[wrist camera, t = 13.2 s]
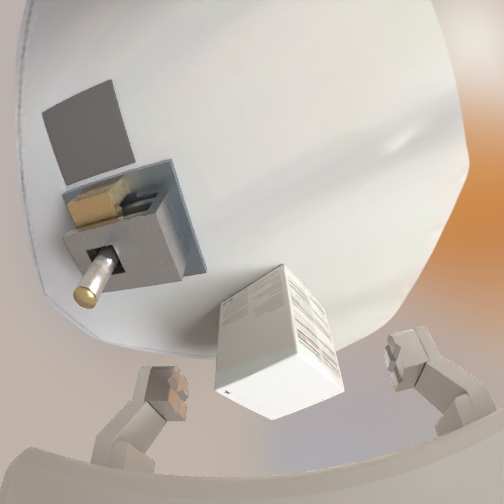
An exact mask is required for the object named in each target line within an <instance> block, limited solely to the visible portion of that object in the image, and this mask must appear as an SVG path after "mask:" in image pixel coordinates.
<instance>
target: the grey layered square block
mask: <svg viewBox="0 0 504 504" xmlns="http://www.w3.org/2000/svg"><path fill="white" fill-rule="evenodd" d="M63 196H64V199H65V201H66V204H67V207H68V209H69V212H70V214H71V216H72V218H73V221H74V223H75V225H76V227H77V229H74V230H71V231H67V233H66V234H65V235H64V236H63V239H64V241H65V243H66V245H67V247H68V249H69V251H70V253H71V255H72V257H73V259H74V261H75V262H76V264H77V266H78V268H79V270H80V272H81V273H82V275H83V276H84V275H85V273H86V271H87V270H88V268H89V267H90V265H91V263H92V262H93V260H94V259H95V257H96V256H97V254H98V253H99V251H100V250H101V248H102V247H103V246H108V245H113V247H114V249H115V251H116V253H117V255H118V257H119V261H118V263H117V265H116V266H115V268H114V270H113V272H112V274H111V276H110V278H109V279H108V281H107V283H106V285H105V287H104V289H103V291H102V293H104V292H111V291H118V290H125V289H132V288H139V287H145V286H152V285H159V284H165V283H172V282H178V281H182V278H183V277H184V276H190V275H196V274H202V273H206V271H207V268H206V265H205V262H204V259H203V256H202V253H201V250H200V247H199V244H198V241H197V238H196V235H195V232H194V229H193V226H192V223H191V220H190V217H189V214H188V210H187V207H186V204H185V201H184V198H183V195H182V191H181V188H180V185H179V182H178V178H177V175H176V172H175V168H174V165H173V162H172V159H170V160H166V161H162V162H158V163H155V164H151V165H148V166H144V167H141V168H137V169H134V170H130V171H127V172H124V173H121V174H117V175H114V176H111V177H108V178H105V179H102V180H99V181H96V182H93V183H90V184H87V185H84V186H81V187H79V188H76V189H73V190H70V191H67V192H65V193H64V194H63Z"/></svg>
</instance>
